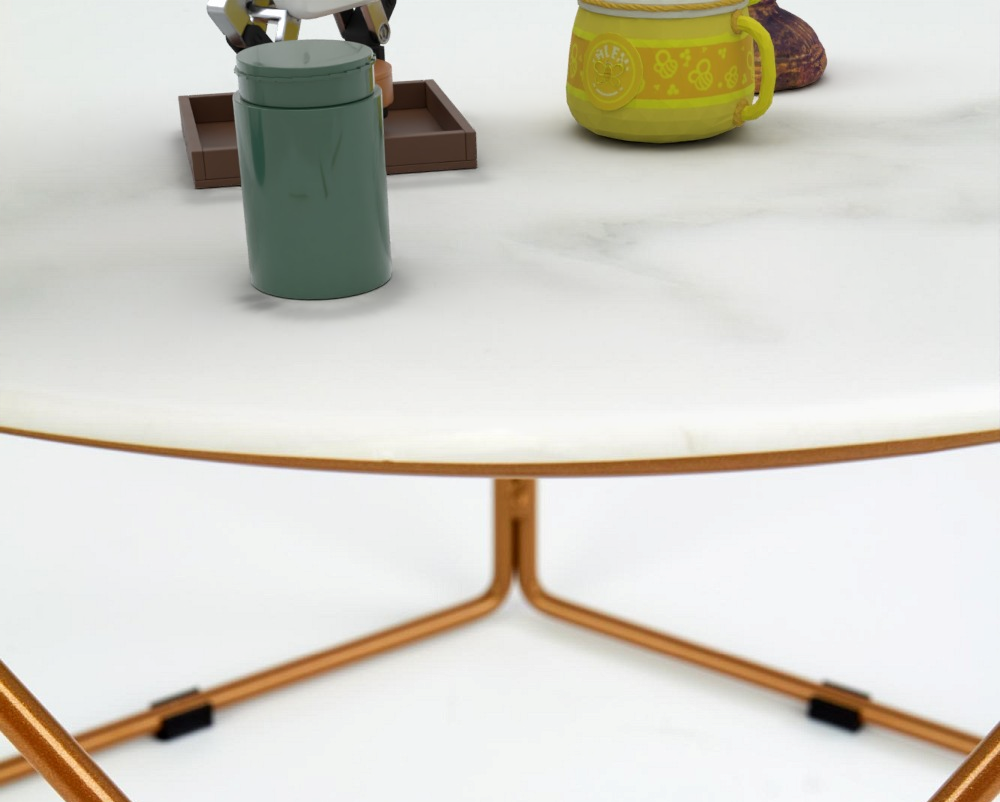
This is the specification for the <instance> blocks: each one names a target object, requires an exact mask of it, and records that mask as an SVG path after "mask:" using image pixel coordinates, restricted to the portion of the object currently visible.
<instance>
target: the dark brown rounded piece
mask: <svg viewBox="0 0 1000 802" xmlns="http://www.w3.org/2000/svg"><path fill="white" fill-rule="evenodd" d="M747 7H748V12H749V17H751V18H753V19H754V20H756V21H757V22H759V23H760V24H761V25H762V26H763V27H764V28H765V29H766V31H767V32H768V33H769V34H770V37H771V40H772V43H773V46H774V57H775V69H776V80H775V87H774V92H775V91H783V90H787V89H798V88H802V87H805V86H806V87H807V86H808V85H810V84H813V83H815V82H817V81H818V80H819V79H821V77H822V76H823V75H824V72H825V71H826V69H827V67H828V58H827V53H826V49H825V47H824V46H823V43H822V42H821V41H820V39H819V36H818V34H817V33H816V31H815V29H814V28H813V27H812V26H811V25H810V24H809V23H808V22H807V21H805V20H803V19H802V18H801V17H799V16H798V15H796V14H794V13H792V12H791V11H788V10H787V9H784V8H782V7H780V6H779V4H778V2H777V0H761V1H759V2H758V3H756V4H753V5H749V6H747ZM753 47H754V70H755V91H754V94H759V92H760V86H761V80H762V73H761V55H760V51H759V48H758V44H757V43H756V41H755V40H754V39H753Z"/></svg>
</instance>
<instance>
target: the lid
mask: <svg viewBox="0 0 1000 802" xmlns="http://www.w3.org/2000/svg"><path fill="white" fill-rule="evenodd" d="M374 80H375V84H376V85H378V86H379V87H380V88H381V89H382V99H383V108H385V107H387V106H388V105H390V104H391V103H392V102H393V99H394V96H393V82H394V79H393V65H392V64H391V63H390V62H388V61H387V60H385V61H383V60H380V59H376V63H375V64H374Z"/></svg>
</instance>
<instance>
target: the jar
mask: <svg viewBox="0 0 1000 802" xmlns="http://www.w3.org/2000/svg"><path fill="white" fill-rule="evenodd" d="M375 63H376V54H374V53H373V51H372V49H371V48H370V47H368V46H366V45H363V44H360V43H355V42H350V41H345V40H343V39H342V40H340V39H322V38H319V39H318V38H315V39H313V38H312V39H307V38H306V39H298V40H290V41H280V42H275V41H273V42H272V43H266V44H261V45H257V46H253V47H250V48H247V49H244V50H242V51H240V52H239V53H238V54H235V65H234V68H233V73H234V74H235V75H236V77H237V84H238V85H237V86H238V90H237V89H236V91H234V92H235V93H234V94H233V107H234V117H235V127H236V137H237V147H238V157H239V167H240V177H241V185H240V187H241V197H242V206H243V217H244V226H245V235H246V246H247V247H246V248H247V255H248V256H247V257H248V266H249V276H250V277H249V278H250V282H251V284H252V286H253V287H254V288H255V289H257V290H258V291H260V292H262V293H265V294H267V295H271V296H275V297H280V298H285V299H293V300H295V299H296V300H327V299H329V300H330V299H340V298H346V297H352V296H356V295H360V294H364V293H367V292H371V291H373V290H375V289H378V288H380V287H381V286H383V285H385V284H387V283H388V281H390V279H391V278H392V275H393V270H392V269H393V268H392V251H391V250H392V249H391V233H390V231H391V230H390V215H389V214H390V213H389V212H390V211H389V194H388V193H389V192H388V177H387V176H388V174H387V173H386V154H385V136H384V117H383V99H382V89H381V88H380V87H379V86H378V85H376V84H375V80H374V64H375Z"/></svg>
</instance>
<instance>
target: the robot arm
mask: <svg viewBox="0 0 1000 802" xmlns="http://www.w3.org/2000/svg"><path fill="white" fill-rule="evenodd" d="M397 1H398V0H207V2H206V13H207V15H208V17H209V18H210V19H211V20H212V22H213V23H214V25H215V26H216V27H217V28H218V30H219V32H220V33H222V35H223V36H224V37H225V41H226V43H227V45H228V46H229V48H230V49H232V50H233V52H234V53H235V55H237V54H238V53H239V52H240V51H242V50H244V49H247V48H250V47H253V46H257V45H261V44H266V43H272V42H280V41H290V40H299V35H300V30H301V24H302V20H306V21H307V20H316V19H320V18H322V17H323V18H324V17H326V16H331V15H332V16H333V18H334V22H335V24H336V26H337V29H338V32H339V34H340V37H341V38H342V40H343V41H350V42H355V43H360V44H363V45H366V46H368V47H370V48H371V49H372V51H373V53H374V54H376V59H380V60H383V61H386V52H385V49H386V48H385V45H387V43H389V41H390V39H391V33H392V32H391V31H392V30H391V25H390V23H389V22H390V19H391V17H392V15H393V13H394V11H395V8H396V5H397V3H398V2H397ZM268 24H270V25H277V27H276V31H275V38H274V41H273V40H272V38H271V37H270V36H269V35H268V34H267V30H268V26H269V25H268ZM387 116H388V106H387V107H385V108H383V117H384V119H385V118H386V117H387Z"/></svg>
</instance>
